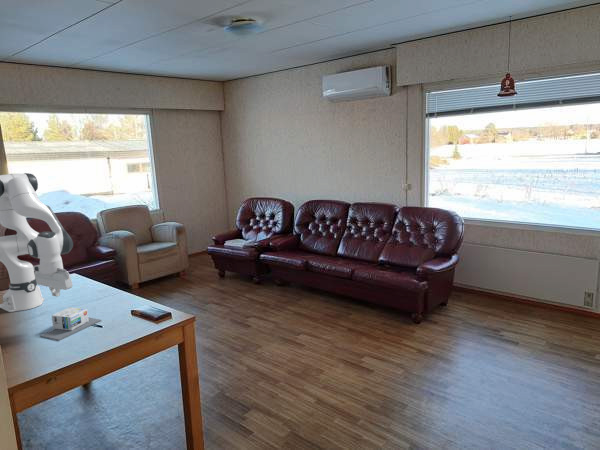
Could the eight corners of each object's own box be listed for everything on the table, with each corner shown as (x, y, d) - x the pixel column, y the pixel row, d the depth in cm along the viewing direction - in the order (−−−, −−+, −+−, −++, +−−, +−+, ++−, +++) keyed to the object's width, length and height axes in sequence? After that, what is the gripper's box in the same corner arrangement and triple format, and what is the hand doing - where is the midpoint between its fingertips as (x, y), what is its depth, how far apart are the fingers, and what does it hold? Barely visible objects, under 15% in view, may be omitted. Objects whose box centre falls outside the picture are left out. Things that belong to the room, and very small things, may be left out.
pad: (40, 336, 187) (40, 335, 186) (83, 317, 206) (83, 316, 206) (58, 340, 182) (58, 339, 182) (101, 320, 201) (101, 319, 201)
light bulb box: (52, 329, 192) (71, 331, 189) (50, 315, 191) (69, 317, 188) (71, 319, 203) (89, 321, 200) (69, 306, 201) (87, 308, 198)
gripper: (73, 267, 190) (77, 296, 193) (43, 263, 199) (48, 290, 201) (61, 271, 185) (65, 301, 188) (30, 266, 193) (35, 295, 196)
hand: (56, 295), depth 195 cm, fingers closed
